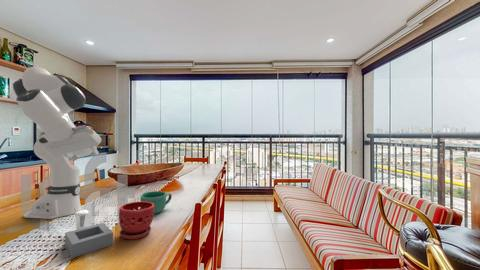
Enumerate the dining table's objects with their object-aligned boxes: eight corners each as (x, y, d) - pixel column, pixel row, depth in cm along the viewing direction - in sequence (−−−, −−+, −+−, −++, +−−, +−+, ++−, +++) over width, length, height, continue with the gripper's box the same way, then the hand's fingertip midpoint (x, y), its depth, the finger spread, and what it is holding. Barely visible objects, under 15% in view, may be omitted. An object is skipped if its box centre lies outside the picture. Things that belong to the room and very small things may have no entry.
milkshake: (77, 230, 86) (78, 206, 86) (90, 230, 87) (91, 206, 87) (69, 235, 82) (70, 210, 82) (83, 235, 82) (84, 210, 82)
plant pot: (151, 239, 81) (152, 209, 81) (113, 243, 77) (115, 211, 77) (155, 225, 93) (156, 199, 93) (123, 228, 89) (124, 201, 89)
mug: (144, 218, 101) (145, 199, 101) (137, 210, 110) (137, 193, 110) (176, 210, 112) (176, 193, 112) (167, 204, 121) (167, 188, 121)
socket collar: (71, 258, 67) (72, 244, 67) (64, 244, 75) (65, 232, 75) (112, 244, 76) (113, 232, 76) (102, 233, 84) (103, 222, 84)
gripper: (91, 120, 80) (112, 146, 88) (43, 132, 81) (68, 157, 89) (82, 128, 75) (105, 156, 83) (32, 142, 76) (59, 167, 84)
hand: (86, 156), depth 86 cm, fingers open, 8 cm apart
